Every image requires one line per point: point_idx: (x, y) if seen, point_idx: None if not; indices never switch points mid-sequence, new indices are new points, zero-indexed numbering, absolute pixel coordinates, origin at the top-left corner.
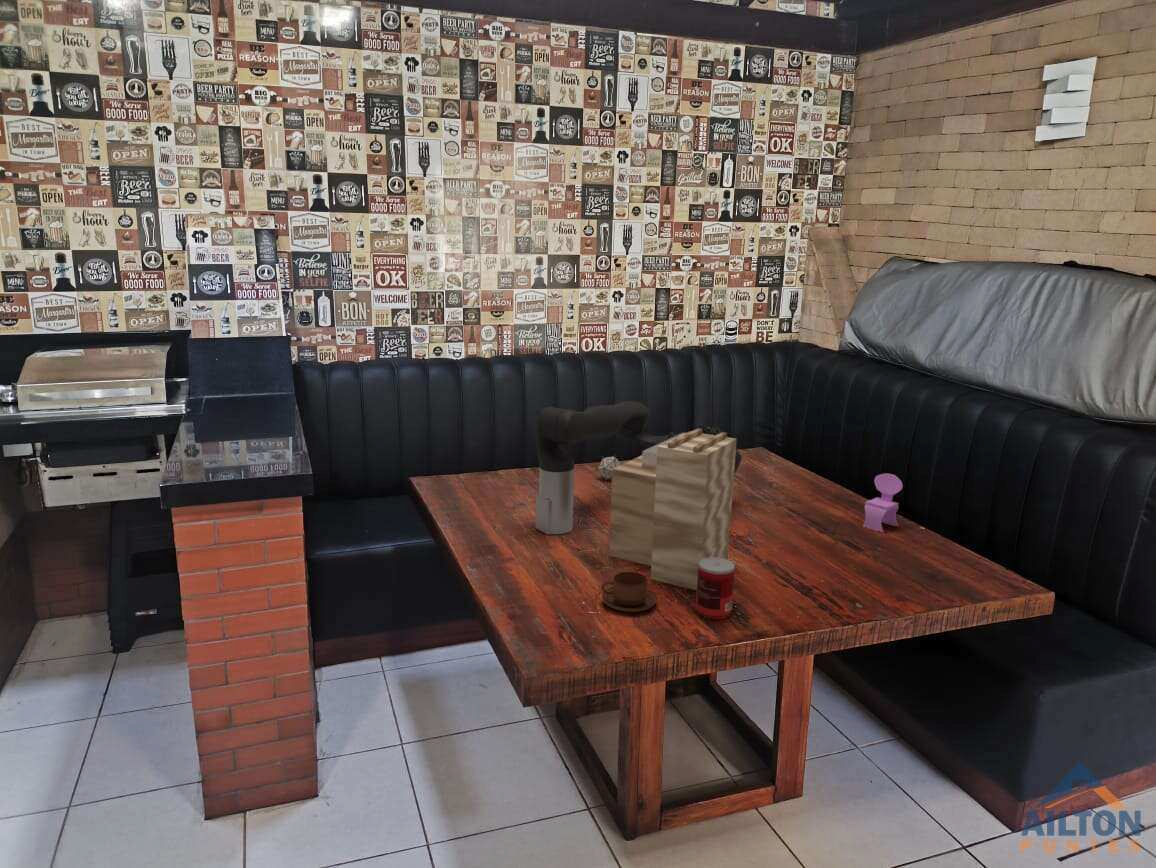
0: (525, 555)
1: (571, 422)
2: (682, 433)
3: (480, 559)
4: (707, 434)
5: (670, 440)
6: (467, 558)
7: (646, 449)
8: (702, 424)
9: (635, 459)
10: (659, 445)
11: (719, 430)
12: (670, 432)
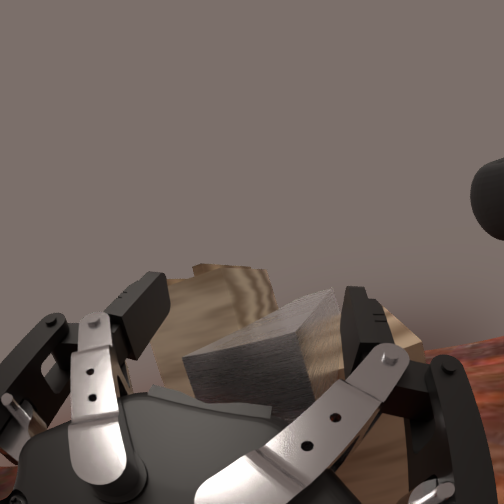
0: (474, 373)
1: (470, 195)
2: (293, 327)
3: (486, 347)
4: (184, 280)
5: (253, 269)
6: (493, 341)
7: (331, 288)
8: (143, 277)
9: (385, 315)
10: (318, 295)
11: (8, 364)
12: (354, 287)
